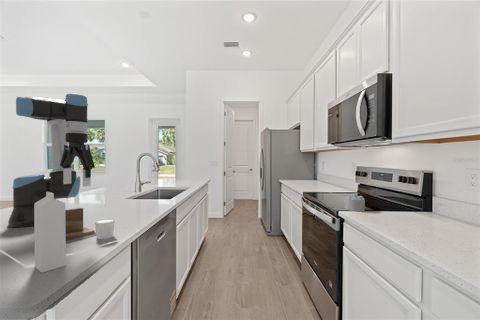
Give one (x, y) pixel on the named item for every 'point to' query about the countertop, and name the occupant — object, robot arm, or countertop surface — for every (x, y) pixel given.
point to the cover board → (79, 233)
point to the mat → (81, 238)
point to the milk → (49, 233)
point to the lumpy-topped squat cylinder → (355, 203)
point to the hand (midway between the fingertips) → (76, 184)
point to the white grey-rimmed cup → (104, 228)
